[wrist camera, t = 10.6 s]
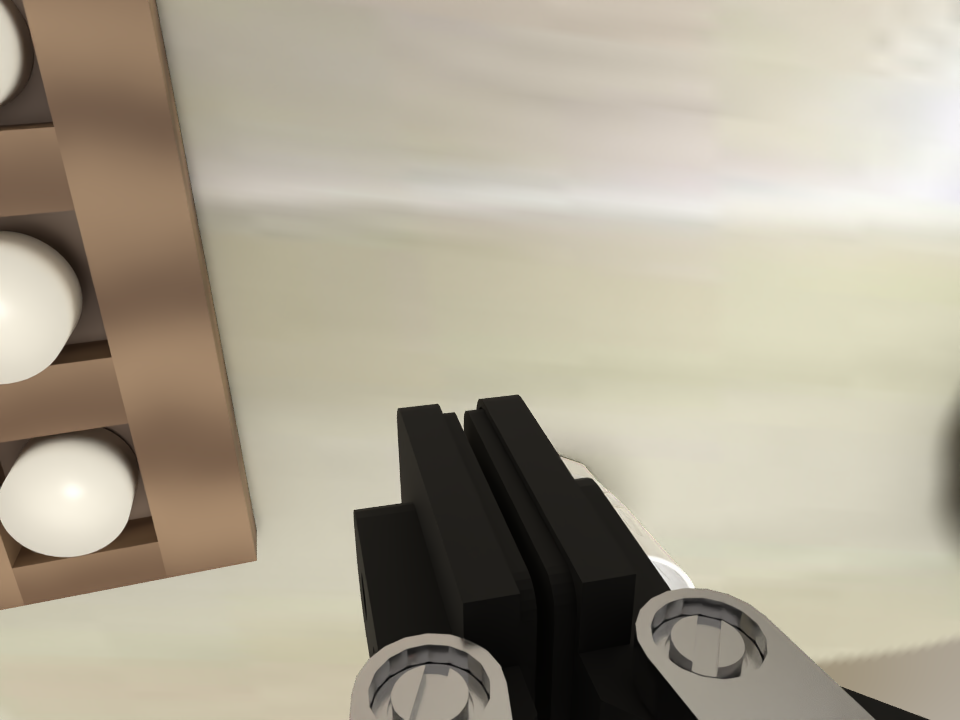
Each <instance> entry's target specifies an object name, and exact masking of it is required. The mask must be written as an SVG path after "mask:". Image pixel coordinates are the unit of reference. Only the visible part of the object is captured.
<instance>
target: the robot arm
mask: <svg viewBox="0 0 960 720" xmlns="http://www.w3.org/2000/svg"><path fill="white" fill-rule="evenodd" d="M397 428H398V446H399V464H400V482H401V500H402V503H400V504H393V505H386V506H379V507H372V508H365V509H357V510H354V528H355V541H356V552H357V564H358V574H359V583H360V592H361V601H362V609H363V616H364V623H365V630H366V637H367V643H368V650H369V656H370V659H368V661H367V662H366V663H365V665H364V666H363V668H362V669H361V670H360V672H359V673H358V675H357V676H356V680H355V683H354V687H353V691H352V694H351V706H350V719H349V720H929V719H926V718H923V717H921V716H918V715H915V714H913V713H910V712H907V711H904V710H902V709H899V708H897V707H894V706H891V705H889V704H886V703H883V702H881V701H878V700H875V699H873V698H870V697H867V696H865V695H862V694H859V693H856V692H854V691H851V690H849V689H846V688H843V687H841V686H839V685H838V684H837V683H836V682H835V681H834V680H833V679H832V678H831V677H829V676H828V675H827V674H826V673H825V672H824V671H823V670H822V669H821V668H820V667H819V666H818V665H817V664H816V663H815V662H814V661H813V660H812V659H810V658H809V657H808V656H807V655H806V654H805V653H804V652H803V651H802V650H801V649H800V648H799V647H798V646H797V645H796V644H795V643H794V642H792V641H791V640H790V639H789V638H788V637H787V636H786V635H785V634H784V633H783V632H782V631H781V630H780V629H779V628H778V627H777V626H776V625H774V624H773V623H772V622H771V621H770V620H769V619H768V618H767V617H766V616H765V615H763V614H762V613H761V612H759V611H758V610H757V609H755V608H754V607H753V606H751V605H750V604H748V603H746V602H744V601H742V600H740V599H738V598H735V597H733V596H731V595H729V594H725V593H721V592H717V591H713V590H709V589H697V588H683V589H677V590H671V589H670V588H669V586H668V585H667V583H666V582H665V581H664V579H663V578H662V576H661V575H660V573H659V572H658V570H657V569H656V568H655V566H654V565H653V563H652V562H651V560H650V559H649V558H648V556H647V555H646V553H645V552H644V550H643V549H642V547H641V546H640V545H639V543H638V542H637V540H636V539H635V537H634V536H633V534H632V533H631V532H630V530H629V529H628V527H627V526H626V524H625V523H624V522H623V520H622V519H621V517H620V516H619V514H618V513H617V511H616V510H615V509H614V507H613V506H612V504H611V503H610V501H609V500H608V499H607V497H606V496H605V494H604V493H603V491H602V490H601V488H600V487H599V486H598V484H597V483H596V482H595V481H594V480H593V479H592V478H588V477H586V478H579V479H574V478H573V476H572V475H571V473H570V471H569V470H568V468H567V467H566V465H565V464H564V462H563V461H562V459H561V458H560V456H559V455H558V453H557V452H556V450H555V448H554V447H553V445H552V444H551V442H550V441H549V439H548V438H547V436H546V435H545V433H544V432H543V430H542V429H541V427H540V426H539V424H538V422H537V421H536V419H535V418H534V416H533V415H532V413H531V412H530V410H529V409H528V407H527V406H526V404H525V403H524V401H523V400H522V398H521V397H520V396H519V395H511V396H502V397H493V398H485V399H479V400H478V403H477V410H470V411H465V414H464V431H463V429H462V427H461V424H460V422H459V420H458V418H457V416H456V414H455V412H453V413H444V414H443V413H442V411H441V408H440V406H439V405H438V404H432V405H423V406H415V407H406V408H398V411H397Z"/></svg>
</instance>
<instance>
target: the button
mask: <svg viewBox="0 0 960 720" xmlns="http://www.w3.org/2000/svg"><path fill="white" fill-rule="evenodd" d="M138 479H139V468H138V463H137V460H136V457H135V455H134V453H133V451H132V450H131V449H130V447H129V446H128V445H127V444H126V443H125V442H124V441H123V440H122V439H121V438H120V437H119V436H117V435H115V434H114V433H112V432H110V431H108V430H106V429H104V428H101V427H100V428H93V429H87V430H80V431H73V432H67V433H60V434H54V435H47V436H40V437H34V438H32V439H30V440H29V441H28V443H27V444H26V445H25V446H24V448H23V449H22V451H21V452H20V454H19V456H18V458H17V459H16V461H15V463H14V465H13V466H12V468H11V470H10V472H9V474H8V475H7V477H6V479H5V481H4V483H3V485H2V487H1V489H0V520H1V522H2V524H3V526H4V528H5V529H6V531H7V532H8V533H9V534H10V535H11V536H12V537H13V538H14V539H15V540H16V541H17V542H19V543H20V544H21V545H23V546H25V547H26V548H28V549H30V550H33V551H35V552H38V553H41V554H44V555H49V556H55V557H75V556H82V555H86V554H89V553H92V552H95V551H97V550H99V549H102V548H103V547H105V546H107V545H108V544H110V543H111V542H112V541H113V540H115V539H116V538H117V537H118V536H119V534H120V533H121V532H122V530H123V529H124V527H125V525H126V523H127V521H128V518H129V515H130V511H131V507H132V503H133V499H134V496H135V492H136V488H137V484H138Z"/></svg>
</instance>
